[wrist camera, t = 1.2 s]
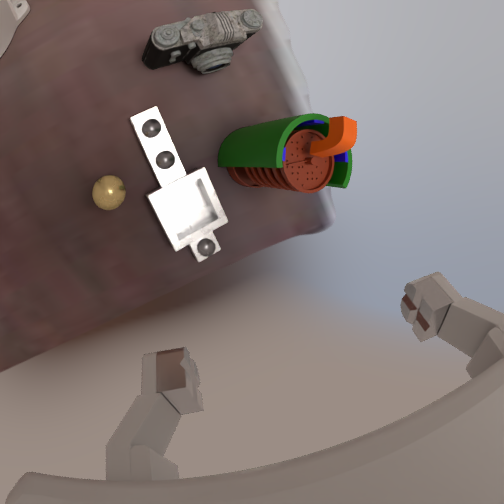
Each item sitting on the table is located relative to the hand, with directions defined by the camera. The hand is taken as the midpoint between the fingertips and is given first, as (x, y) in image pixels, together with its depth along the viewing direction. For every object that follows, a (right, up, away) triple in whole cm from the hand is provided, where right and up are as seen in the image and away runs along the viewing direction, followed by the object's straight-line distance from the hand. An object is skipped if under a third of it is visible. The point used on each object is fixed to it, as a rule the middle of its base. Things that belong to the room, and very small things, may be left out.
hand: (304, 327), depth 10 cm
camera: (-10, +30, +26) cm, 41 cm away
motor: (-2, +16, +33) cm, 37 cm away
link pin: (-20, +11, +25) cm, 34 cm away
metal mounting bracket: (-12, +11, +29) cm, 34 cm away
